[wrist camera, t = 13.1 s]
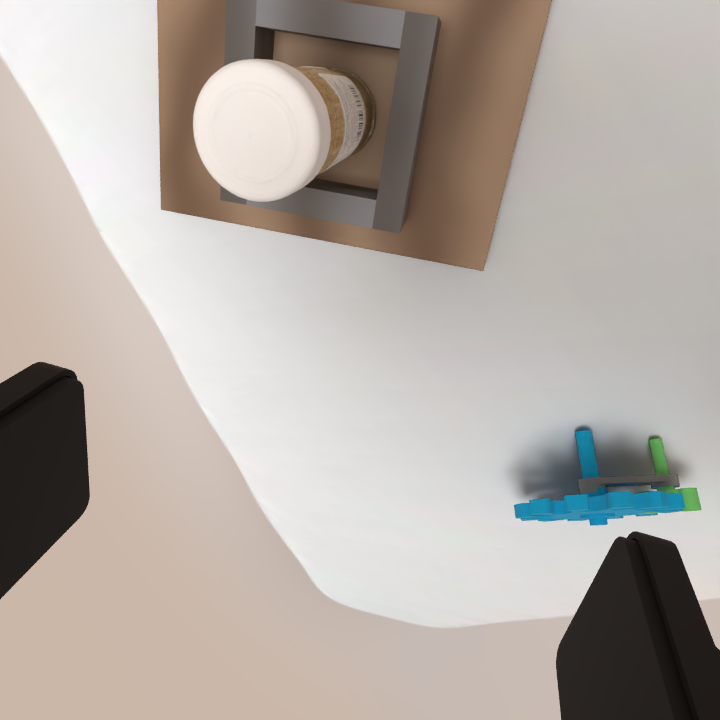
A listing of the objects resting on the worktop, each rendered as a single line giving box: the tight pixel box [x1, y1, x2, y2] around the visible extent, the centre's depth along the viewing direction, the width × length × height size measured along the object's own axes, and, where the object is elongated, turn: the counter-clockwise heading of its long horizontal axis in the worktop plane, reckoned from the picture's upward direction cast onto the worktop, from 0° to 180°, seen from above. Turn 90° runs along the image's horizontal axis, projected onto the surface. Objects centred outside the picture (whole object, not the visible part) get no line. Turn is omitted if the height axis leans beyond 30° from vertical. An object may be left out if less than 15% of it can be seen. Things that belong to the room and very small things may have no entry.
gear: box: [514, 430, 701, 525], centre depth 37 cm, size 11×6×10 cm
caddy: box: [157, 0, 552, 271], centre depth 30 cm, size 20×14×4 cm
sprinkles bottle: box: [193, 59, 376, 202], centre depth 25 cm, size 5×5×13 cm
